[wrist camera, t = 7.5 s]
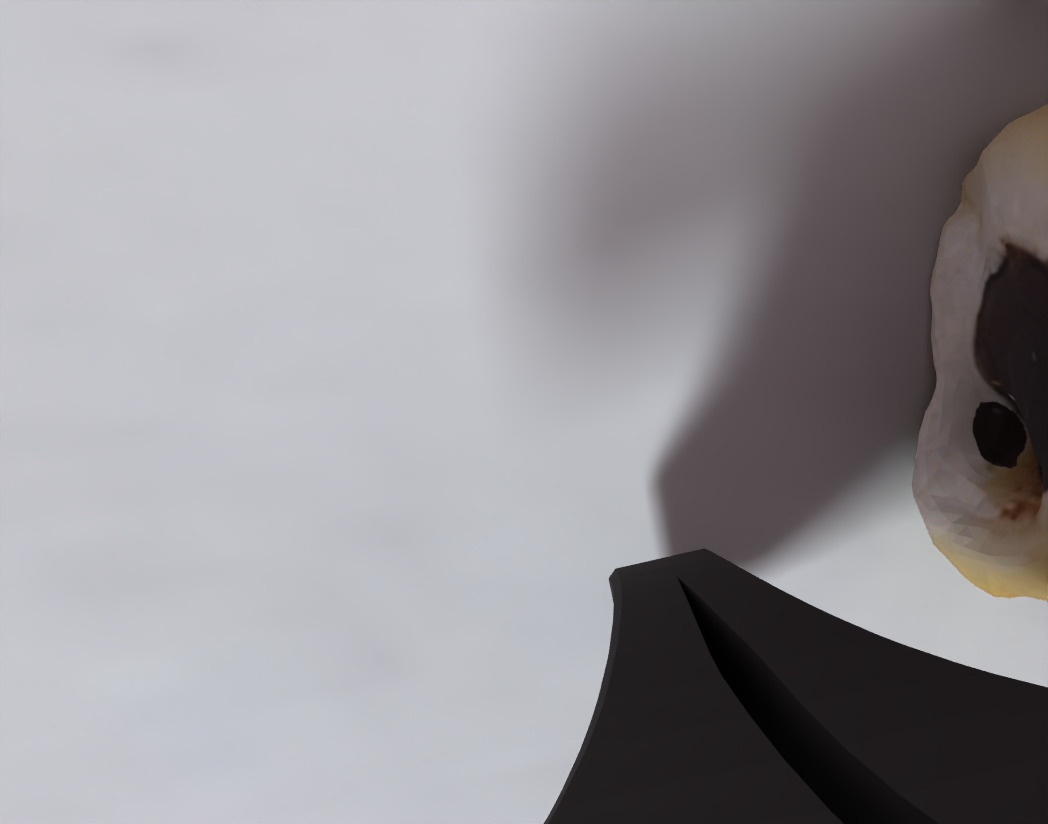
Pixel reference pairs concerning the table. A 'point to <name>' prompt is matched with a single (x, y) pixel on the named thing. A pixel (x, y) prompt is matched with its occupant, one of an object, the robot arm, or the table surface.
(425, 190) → the table surface
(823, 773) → the robot arm
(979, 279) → the pastry
